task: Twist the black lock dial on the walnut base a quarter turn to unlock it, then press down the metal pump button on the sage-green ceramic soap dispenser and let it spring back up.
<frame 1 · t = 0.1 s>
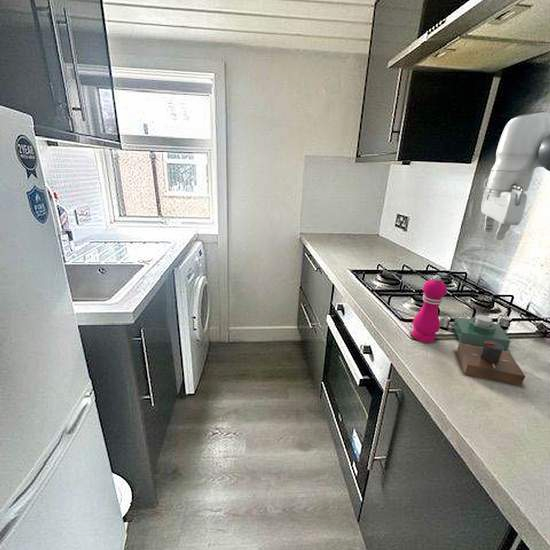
hand: (492, 235, 83), 31 cm above the counter, tool pointing down, fingers open, 8 cm apart
pump: (483, 321, 90), point 6 cm above the counter, slide at 0.1 cm
dispenser: (478, 337, 92), on the counter
pepper mill: (423, 337, 91), on the counter
lock dial: (491, 350, 76), point 5 cm above the counter, hinge at 0.0°
lock base: (486, 367, 78), on the counter
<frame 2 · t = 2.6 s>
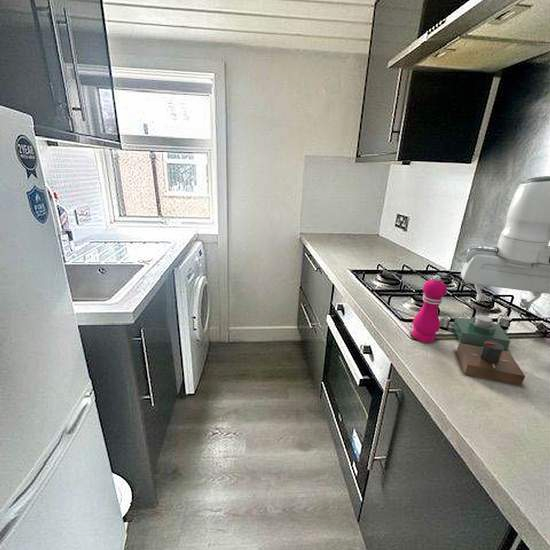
hand: (501, 303, 74), 17 cm above the counter, tool pointing down, fingers open, 8 cm apart
nothing on the counter moved.
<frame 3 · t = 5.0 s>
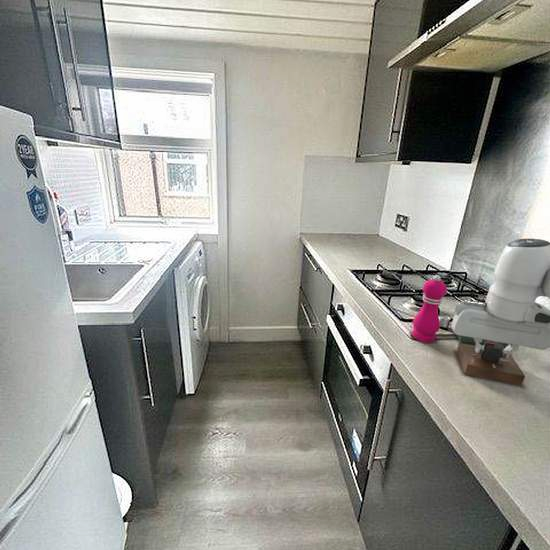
hand: (490, 354, 77), 4 cm above the counter, tool pointing down, fingers closed on lock dial, 4 cm apart
lock dial: (491, 350, 76), point 5 cm above the counter, hinge at -0.1°, touching gripper
everything else where it was.
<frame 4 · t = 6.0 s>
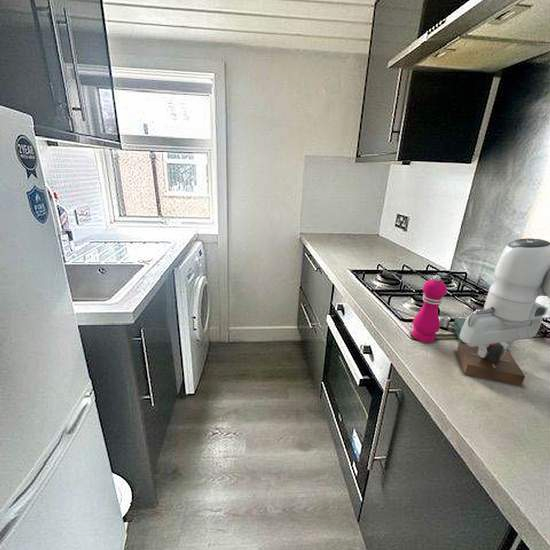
hand: (491, 354, 77), 4 cm above the counter, tool pointing down, fingers closed on lock dial, 4 cm apart
lock dial: (491, 350, 76), point 5 cm above the counter, hinge at 31.9°, touching gripper
everything else where it was.
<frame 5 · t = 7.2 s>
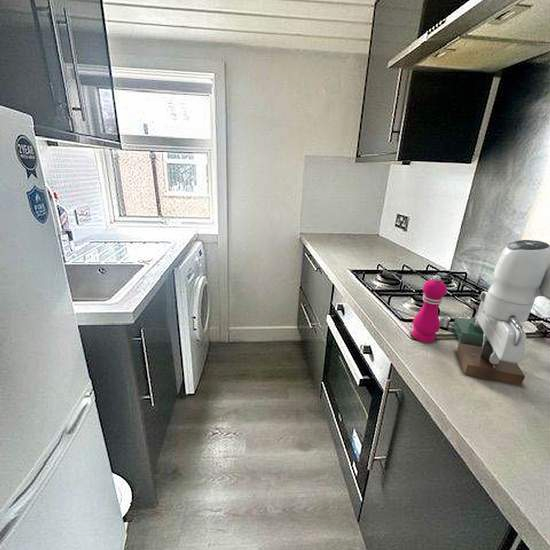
hand: (489, 355, 77), 4 cm above the counter, tool pointing down, fingers closed on lock dial, 4 cm apart
lock dial: (491, 350, 76), point 5 cm above the counter, hinge at 87.8°, touching gripper
everything else where it was.
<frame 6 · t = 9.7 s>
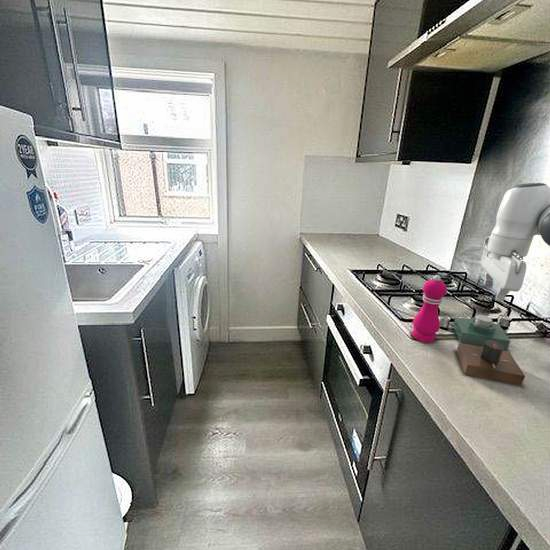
hand: (492, 293, 85), 15 cm above the counter, tool pointing down, fingers open, 8 cm apart
lock dial: (491, 350, 76), point 5 cm above the counter, hinge at 87.9°
everything else where it was.
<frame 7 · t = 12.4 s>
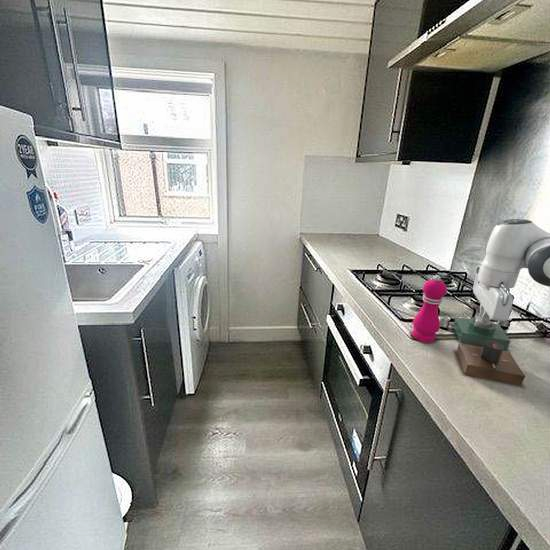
hand: (483, 320, 90), 6 cm above the counter, tool pointing down, fingers closed, pressing on pump
pump: (482, 323, 90), point 5 cm above the counter, slide at -0.6 cm, touching gripper
everything else where it was.
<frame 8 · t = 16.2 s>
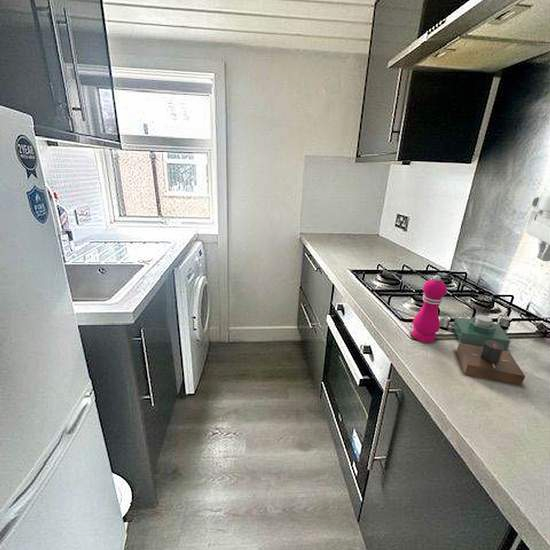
hand: (542, 259, 76), 27 cm above the counter, tool pointing down, fingers closed
pump: (483, 321, 90), point 6 cm above the counter, slide at 0.1 cm
everything else where it was.
at the end: lock dial at +88° (first picture: +0°); pump pushed in 1.1 cm at the most during the clip, back to where it started at the end; pump slide at 0.1 cm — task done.
